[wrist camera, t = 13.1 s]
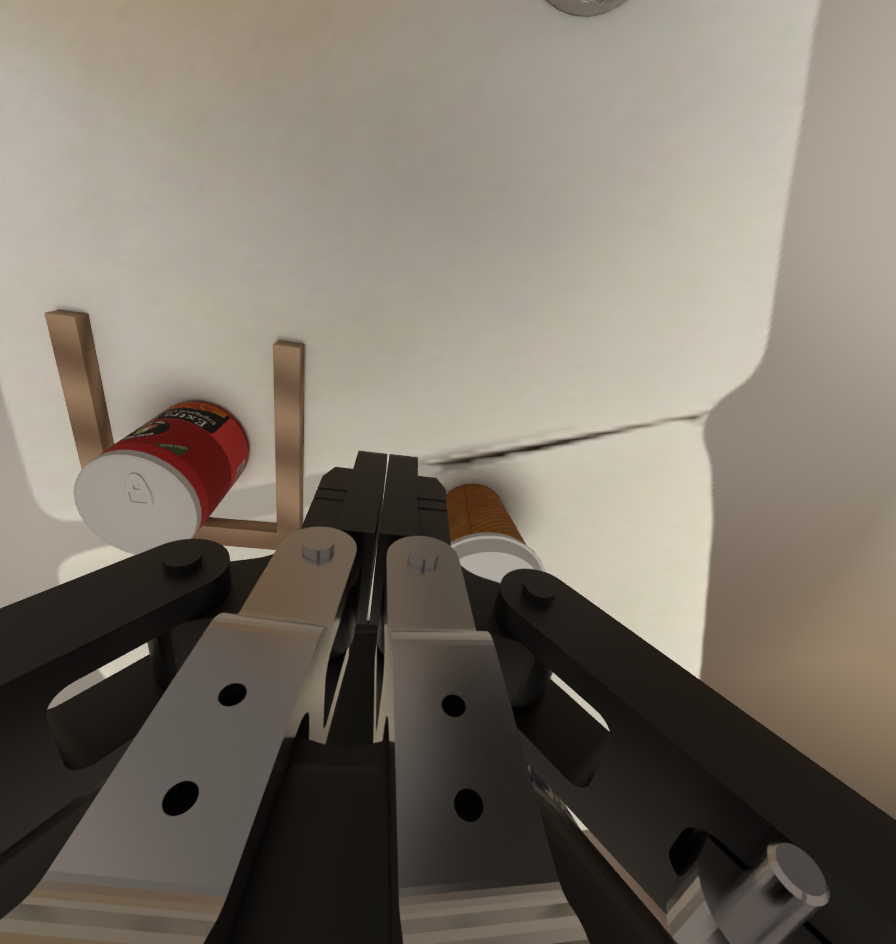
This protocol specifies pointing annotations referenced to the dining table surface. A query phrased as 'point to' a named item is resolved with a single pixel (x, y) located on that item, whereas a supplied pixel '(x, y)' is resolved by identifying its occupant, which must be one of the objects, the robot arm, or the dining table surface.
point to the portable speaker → (356, 693)
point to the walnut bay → (95, 437)
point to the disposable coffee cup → (486, 534)
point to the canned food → (162, 477)
